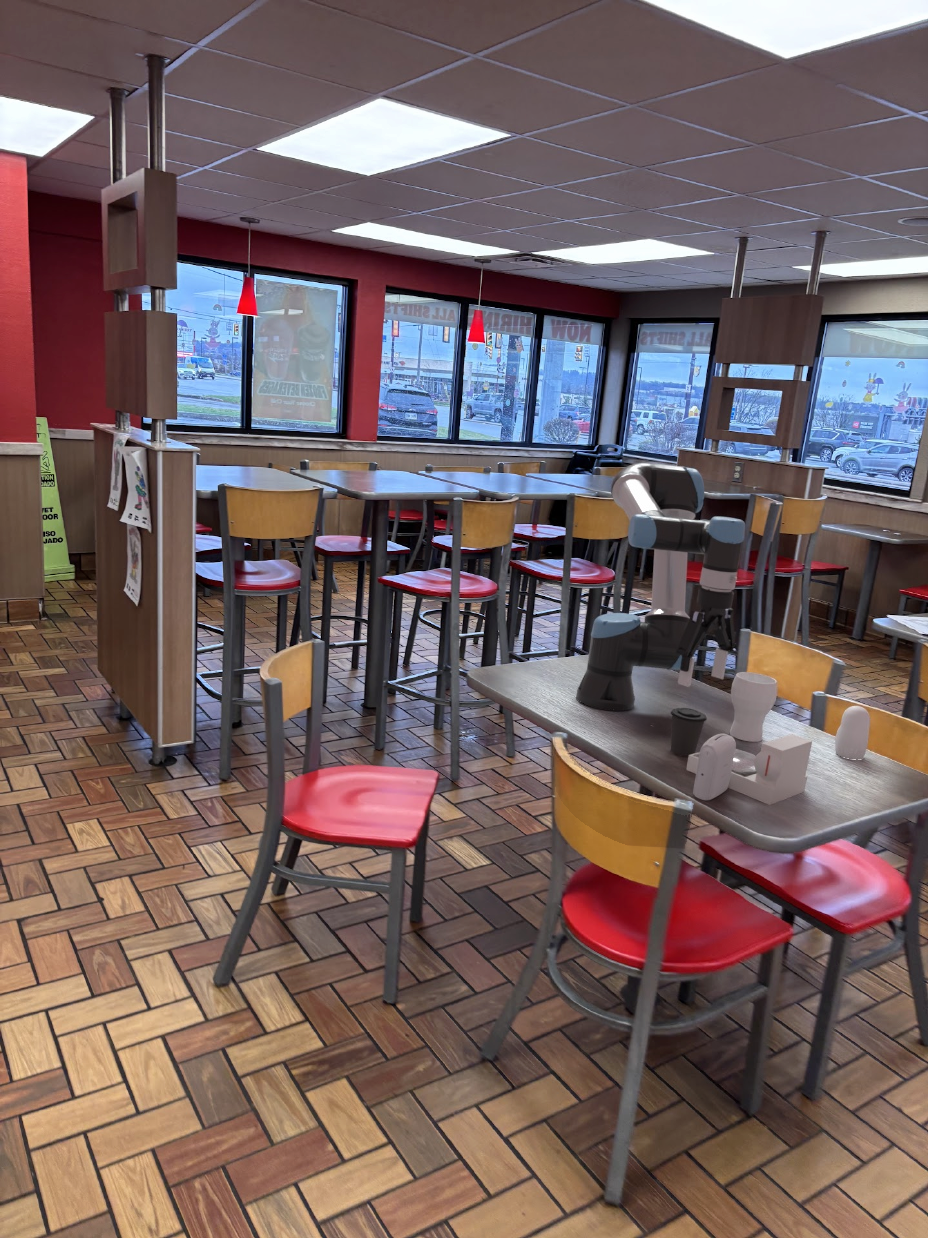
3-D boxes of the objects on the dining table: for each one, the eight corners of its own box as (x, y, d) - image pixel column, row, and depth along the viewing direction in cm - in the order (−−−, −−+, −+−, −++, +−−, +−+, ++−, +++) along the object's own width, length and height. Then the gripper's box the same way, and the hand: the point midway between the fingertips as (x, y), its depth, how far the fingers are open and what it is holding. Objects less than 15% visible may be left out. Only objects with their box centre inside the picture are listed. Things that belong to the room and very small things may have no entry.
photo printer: (709, 803, 179) (719, 744, 176) (689, 795, 182) (699, 737, 179) (730, 790, 187) (741, 733, 184) (711, 783, 190) (721, 727, 187)
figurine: (863, 753, 219) (873, 706, 216) (866, 763, 212) (876, 715, 209) (832, 747, 221) (841, 700, 218) (834, 757, 214) (844, 708, 211)
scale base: (686, 769, 196) (694, 719, 193) (722, 758, 205) (730, 710, 202) (773, 806, 181) (783, 753, 178) (807, 792, 190) (818, 741, 188)
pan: (693, 767, 195) (695, 753, 195) (724, 757, 203) (726, 744, 203) (742, 787, 187) (745, 773, 186) (772, 776, 195) (775, 762, 194)
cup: (770, 747, 216) (782, 687, 213) (725, 740, 218) (735, 680, 215) (765, 733, 226) (776, 675, 223) (721, 726, 228) (731, 669, 225)
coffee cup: (680, 760, 201) (687, 717, 199) (657, 747, 208) (663, 705, 206) (708, 757, 205) (715, 715, 203) (684, 744, 212) (691, 703, 209)
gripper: (700, 595, 187) (683, 693, 192) (761, 588, 204) (744, 678, 209) (669, 588, 192) (654, 683, 197) (731, 581, 209) (716, 670, 214)
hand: (701, 681), depth 203 cm, fingers open, 13 cm apart
